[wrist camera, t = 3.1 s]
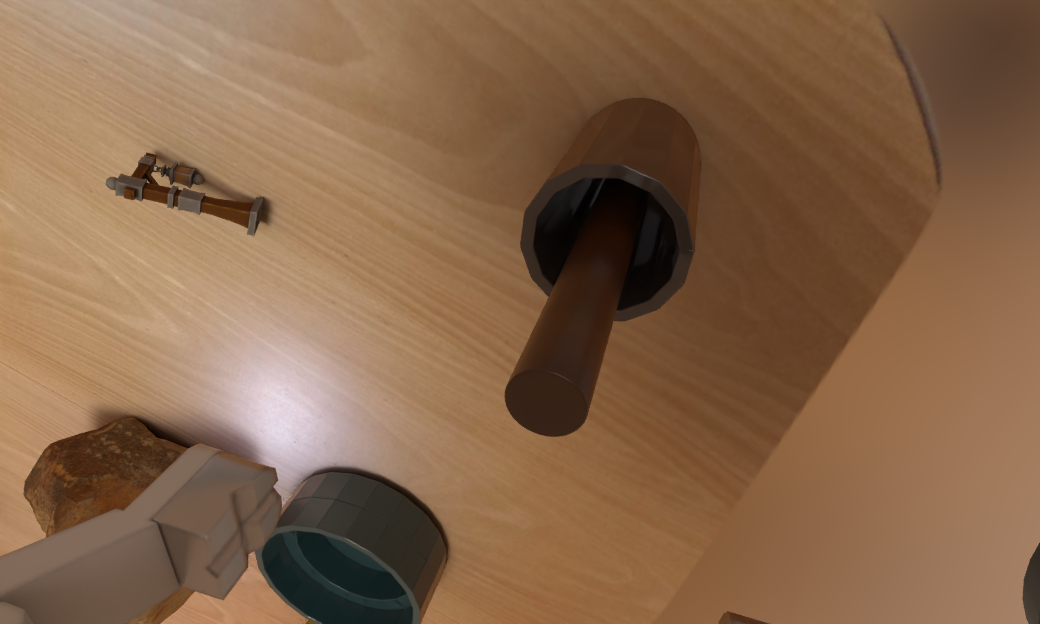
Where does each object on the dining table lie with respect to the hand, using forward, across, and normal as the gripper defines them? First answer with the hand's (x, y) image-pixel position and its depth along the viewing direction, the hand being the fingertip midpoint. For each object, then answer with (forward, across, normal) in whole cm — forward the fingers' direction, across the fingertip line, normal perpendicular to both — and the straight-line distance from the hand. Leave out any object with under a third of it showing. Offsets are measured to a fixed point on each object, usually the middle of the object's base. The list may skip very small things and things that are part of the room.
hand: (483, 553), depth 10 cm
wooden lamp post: (+23, +25, +7) cm, 35 cm away
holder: (+23, 0, 0) cm, 23 cm away
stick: (+22, 0, 0) cm, 22 cm away
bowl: (+23, +15, +36) cm, 45 cm away
